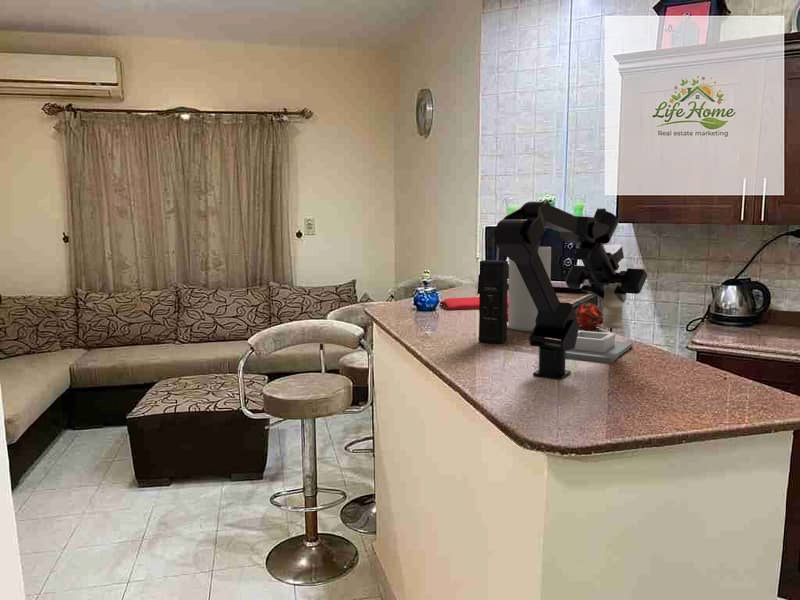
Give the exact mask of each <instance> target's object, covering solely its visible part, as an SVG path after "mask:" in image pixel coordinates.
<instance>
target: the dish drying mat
mask: <svg viewBox="0 0 800 600" xmlns="http://www.w3.org/2000/svg"><path fill="white" fill-rule="evenodd" d="M440 304H442V305H443V306H444V307H445V308H444V307H443V306H442V307H443V308H444V309H446V308H447V309H448V310H447V309H446V310H447V311H463V310H464V311H465V310H466V311H467V310H479V296H473V297H471V296H470V297H451V298H444V299H443V300H441V301H439V305H440ZM507 309H509V295H507Z"/></svg>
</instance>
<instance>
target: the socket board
mask: <svg viewBox="0 0 800 600" xmlns="http://www.w3.org/2000/svg"><path fill="white" fill-rule="evenodd" d="M633 345H634V344H633V342H627V341H616V333H611V332H600V331H589V330H578V335H577V340H576V345H575V348H573V349H570V350H567V351H566V359H574V360H582V361H590V362H598V363H605V362H606V363H608V364H612V363H614V362H615V361H616V360H617V359H619V358H620V357H621V356H623V355H624V354H625V353H624V352H625V351H627V350H628V349H629V348H630V347H632V346H633ZM633 347H634V346H633ZM633 347H632V348H633ZM628 351H629V350H628ZM628 351H627V352H628ZM623 353H624V354H623ZM622 354H623V355H622ZM620 355H621V356H620ZM619 356H620V357H619ZM618 357H619V358H618Z"/></svg>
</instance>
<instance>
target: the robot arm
mask: <svg viewBox="0 0 800 600" xmlns="http://www.w3.org/2000/svg"><path fill="white" fill-rule="evenodd" d="M619 223H620V221H619V218H618V216H616V215H615V214H613V213H612V212H610V211H607V209H606V208H605V207H604V208H601V207H600V208H597V209H596V211H595V213H594V216H581V215H579V216H578V215H574V214H571V213H570V212H567V211H565V210H562V209H561V208H559V207H556V206H553V205H552V204H550V203H549V202H548V201H545V200H537V201H533V200H532V201H528V202H525V203H523V205H522V206H521V207H520V208H518V209H516V210H515V211H513V212H510V213H509V214H507V215H505V217H503V219H501V220H499V221H498V222H497V224H496V226H495V227H494V229H493V241H494V243H495V245H496V247H498V249H499V250H500V253H501V254H502V255H503V256H504V255H505V257H506V258H508V260H509V259H511V260H512V261H514V262H515V264H516V266H517V268H518V270H519V272H520V274H521V276H522V278H523V281H524V283H525V285H526V287H527V289H528V291H529V293H530V295H531V297H532V300H533V302H534V304H535V306H536V308H537V310H538V313H537V316H536V320H535V322H536V325H535V327H534V329H533V331H531V333H530V334H529V338H528V340H529V345H530V346H531V347H538V369H537V370H535V371H533V372H532V375H533V376H536V377H537V376H538V377H543V378H551V379H558V380H562V379H563V378H566V377H567V376H568V375H569V374H571V373H572V371H571V370H569V369H566V361H567V360H566V359H567V358H566V351H567V350H570V349H573V348H575V345H576V340H577V335H578V330H579V329H580V326H579V324H578V322H577V319H576V317H577V315H576V314H575V312H576V311H575V310H574V307H573V304H571V303H570V302H563V301H560V300H559V298H558V295H557V292H556V290H555V288H554V286H553V284H552V281H551V278H550V279H549V277H548V274H547V272H546V270H545V268H544V265H543V263H542V261H541V259H540V256H539V254H538V249H539V247H540V245H541V241H542V238H541V237H542V236H543V234H545V232H546V228H547V229H550V230H552V231H555V232H558V233H559V237H560V238H561V239H562V240H564V241H565V242H566V243H577V245H576V247H575V251H574V253H573V257H572V258H573V260H575V261H576V260H579V261H580V260H581V262H582V264H583V265H581V264H574V265H572V266H571V268H570V269H569V272H568V274H567V276H566V278H565V285H566V286H567V288H568V289H573V290H575V289H576V290H581V291H582V292H585V293H588V294H590V295H593V296H594V297H597V298H599V299H601V300H602V301H604V285H609V284H612V285H614V284H615V283H616V285H617V287H616V289H615V291H614V294H615V295H616V296H617V297H618V298H619V299H620V300H621V301H622V304H623V303H624V304H625V302H626V300H627V294H632V295H633V294H635V295H638V294H640V293H641V292H642V290H643V287H644V285H645V282H646V280H647V278H648V273H647V272H646V270H645V269H644V268H636V267H634V268H633V267H628V268H627V269H626V270H621V271H620V272H616V271H618V270H619V268H620V265H619V263H620V262H621V260H623V259H624V258H625V255H624V251H623V246H622V245H621V244H609V243H610V242H611V239H612V238H613V235H614V234H615V232H616V229H617V227H618V225H619Z"/></svg>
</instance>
